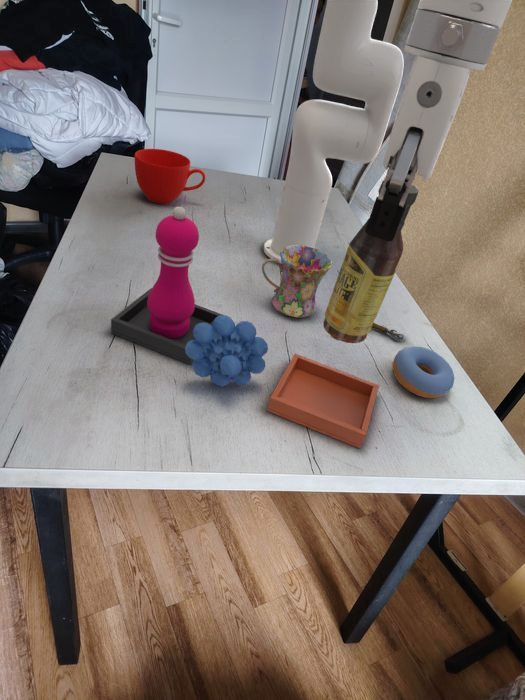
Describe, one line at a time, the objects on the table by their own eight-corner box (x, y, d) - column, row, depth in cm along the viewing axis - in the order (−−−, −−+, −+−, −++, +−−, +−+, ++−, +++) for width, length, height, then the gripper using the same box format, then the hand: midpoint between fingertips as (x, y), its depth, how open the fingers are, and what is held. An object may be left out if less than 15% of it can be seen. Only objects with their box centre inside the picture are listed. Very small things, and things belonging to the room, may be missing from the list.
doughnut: (459, 401, 77) (472, 379, 74) (407, 405, 73) (418, 383, 71) (426, 361, 84) (437, 340, 81) (377, 363, 81) (387, 342, 78)
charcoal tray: (150, 300, 82) (151, 287, 81) (221, 327, 80) (224, 314, 79) (110, 333, 73) (110, 319, 72) (190, 364, 71) (191, 351, 70)
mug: (312, 297, 94) (326, 248, 88) (320, 324, 87) (337, 273, 80) (252, 290, 92) (262, 239, 86) (256, 317, 85) (267, 264, 78)
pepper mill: (183, 345, 73) (197, 223, 62) (138, 333, 74) (144, 209, 62) (197, 321, 79) (213, 205, 67) (156, 309, 80) (164, 192, 68)
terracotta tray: (291, 365, 76) (294, 353, 74) (373, 397, 73) (379, 385, 72) (266, 410, 66) (270, 397, 65) (359, 448, 64) (366, 435, 63)
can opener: (358, 323, 89) (360, 318, 89) (362, 318, 91) (364, 313, 90) (403, 344, 87) (405, 339, 86) (406, 339, 88) (409, 334, 88)
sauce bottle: (317, 316, 65) (364, 168, 54) (360, 322, 66) (415, 178, 55) (326, 345, 60) (380, 187, 48) (373, 350, 61) (436, 198, 50)
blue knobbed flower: (182, 406, 64) (192, 335, 57) (179, 373, 69) (187, 303, 62) (266, 406, 67) (284, 338, 60) (257, 374, 72) (273, 308, 65)
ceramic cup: (199, 216, 115) (203, 174, 109) (127, 203, 113) (128, 159, 107) (204, 197, 125) (209, 158, 119) (139, 185, 123) (141, 144, 117)
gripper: (494, 56, 36) (406, 268, 47) (488, 51, 50) (420, 217, 60) (398, 32, 38) (334, 244, 48) (417, 33, 51) (363, 199, 62)
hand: (382, 227), depth 54 cm, fingers closed on sauce bottle, 4 cm apart
